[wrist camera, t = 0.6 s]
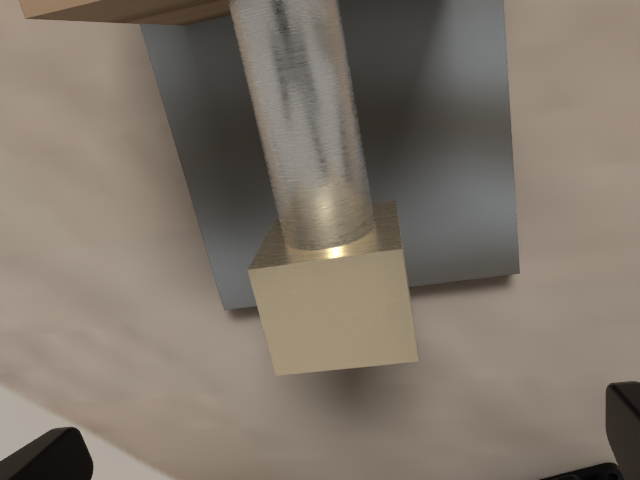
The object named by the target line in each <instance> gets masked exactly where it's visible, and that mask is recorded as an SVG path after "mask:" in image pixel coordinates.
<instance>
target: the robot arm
mask: <svg viewBox="0 0 640 480" xmlns="http://www.w3.org/2000/svg"><path fill="white" fill-rule="evenodd" d="M606 433H607V437H608V441H609V444H610V446H611V449H612V451H613V453H614V456H615V458H616V461H617V463H618V465H617V464H615V463H604V464H600V465H596V466H592V467H588V468H584V469H580V470H576V471H572V472H568V473H564V474H560V475H557V476H553V477H549V478H545V479H541V480H640V383H639V382H636V381H630V382H618V383H610V384H609V385H608V386H607V389H606ZM92 474H93V461H92V458H91V456H90V454H89V451H88V449H87V446H86V444H85V442H84V440H83V437H82V435H81V433H80V431H79V430H78V429H77V428H74V427H64V428H55V429H52V430H50V431H48V432H47V433H45V434H43V435H42V436H40V437H39V438H37V439H35V440H34V441H32V442H31V443H29V444H27V445H26V446H24V447H23V448H21V449H19V450H18V451H16V452H15V453H13V454H11V455H10V456H8V457H7V458H5V459H3V460H2V461H0V480H91V478H92ZM609 474H611V475H609Z"/></svg>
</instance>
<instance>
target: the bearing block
mask: <svg viewBox="0 0 640 480" xmlns="http://www.w3.org/2000/svg"><path fill="white" fill-rule="evenodd" d="M338 1H339V7H340V13H341V19H342V25H343V31H344V37H345V43H346V49H347V55H348V61H349V68H350V74H351V80H352V86H353V92H354V98H355V104H356V110H357V116H358V122H359V128H360V134H361V140H362V147H363V153H364V159H365V165H366V171H367V177H368V183H369V189H370V195H371V201H372V204H373V203H380V202H386V201H393V200H396V202H397V209H398V215H399V222H400V229H401V236H402V243H403V250H404V256H405V263H406V270H407V277H408V284H409V287H415V286H423V285H431V284H439V283H447V282H455V281H463V280H471V279H479V278H487V277H495V276H504V275H512V274H520V269H519V252H518V235H517V218H516V202H515V185H514V168H513V151H512V135H511V118H510V101H509V84H508V68H507V51H506V34H505V17H504V0H338ZM19 3H20V6H21V8H22V11H23V14H24V16H25V19H46V20H67V21H89V22H111V23H133V24H140V26H141V29H142V33H143V36H144V40H145V43H146V46H147V50H148V53H149V57H150V60H151V63H152V67H153V70H154V73H155V77H156V80H157V84H158V87H159V90H160V94H161V97H162V101H163V104H164V107H165V111H166V114H167V118H168V121H169V124H170V128H171V131H172V134H173V138H174V141H175V145H176V148H177V151H178V155H179V158H180V162H181V165H182V168H183V172H184V175H185V179H186V182H187V185H188V189H189V192H190V195H191V199H192V202H193V206H194V209H195V212H196V216H197V219H198V223H199V226H200V229H201V233H202V236H203V240H204V243H205V246H206V250H207V253H208V257H209V260H210V263H211V267H212V270H213V273H214V277H215V280H216V284H217V287H218V290H219V294H220V297H221V301H222V304H223V307H224V310H230V309H238V308H246V307H254V306H257V304H256V300H255V296H254V293H253V289H252V285H251V281H250V278H249V274H248V268H249V266H250V264H251V262H252V261H253V259H254V257H255V255H256V253H257V251H258V250H259V248H260V246H261V244H262V242H263V241H264V239H265V237H266V235H267V233H268V231H269V230H270V228H271V226H272V224H273V222H274V220H275V219H276V218H279V216H278V212H277V208H276V204H275V199H274V195H273V191H272V187H271V182H270V178H269V174H268V170H267V165H266V161H265V157H264V153H263V148H262V144H261V140H260V135H259V131H258V127H257V123H256V118H255V114H254V110H253V106H252V101H251V97H250V93H249V89H248V84H247V80H246V76H245V72H244V67H243V63H242V59H241V55H240V50H239V46H238V42H237V38H236V33H235V29H234V25H233V20H232V16H231V12H230V8H229V3H228V0H19Z"/></svg>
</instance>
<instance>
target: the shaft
mask: <svg viewBox="0 0 640 480" xmlns="http://www.w3.org/2000/svg"><path fill="white" fill-rule="evenodd" d="M228 3H229V8H230V12H231V16H232V20H233V25H234V29H235V33H236V38H237V42H238V46H239V50H240V55H241V59H242V63H243V67H244V72H245V76H246V80H247V84H248V89H249V93H250V97H251V101H252V106H253V110H254V114H255V118H256V123H257V127H258V131H259V135H260V140H261V144H262V148H263V153H264V157H265V161H266V165H267V170H268V174H269V178H270V182H271V187H272V191H273V195H274V199H275V204H276V208H277V212H278V216H279V218H276V219H275V220H274V222H273V224H272V226H271V228H270V230H269V231H268V233H267V235H266V237H265V239H264V241H263V242H262V244H261V246H260V248H259V250H258V251H257V253H256V255H255V257H254V259H253V261H252V262H251V264H250V266H249V268H248V274H249V278H250V281H251V285H252V289H253V293H254V296H255V300H256V304H257V308H258V311H259V315H260V319H261V322H262V326H263V330H264V334H265V337H266V341H267V345H268V349H269V352H270V356H271V360H272V364H273V367H274V371H275V375H276V376H279V375H289V374H299V373H309V372H319V371H329V370H339V369H349V368H359V367H369V366H379V365H389V364H399V363H409V362H419V360H418V352H417V344H416V337H415V329H414V321H413V314H412V306H411V298H410V291H409V284H408V277H407V270H406V263H405V256H404V250H403V243H402V236H401V229H400V222H399V215H398V209H397V202H396V200H393V201H386V202H380V203H373V204H372V201H371V195H370V189H369V183H368V177H367V171H366V165H365V159H364V153H363V147H362V140H361V134H360V128H359V122H358V116H357V110H356V104H355V98H354V92H353V86H352V80H351V74H350V68H349V61H348V55H347V49H346V43H345V37H344V31H343V25H342V19H341V13H340V7H339V1H338V0H228Z"/></svg>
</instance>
